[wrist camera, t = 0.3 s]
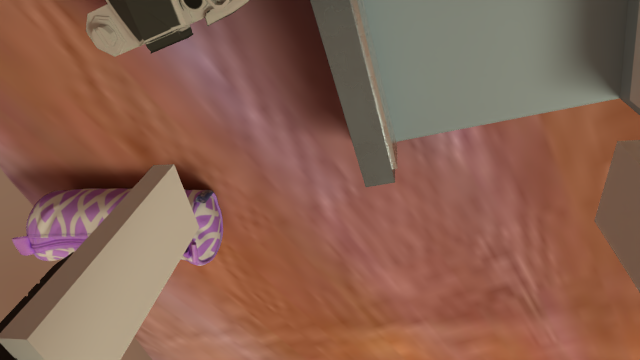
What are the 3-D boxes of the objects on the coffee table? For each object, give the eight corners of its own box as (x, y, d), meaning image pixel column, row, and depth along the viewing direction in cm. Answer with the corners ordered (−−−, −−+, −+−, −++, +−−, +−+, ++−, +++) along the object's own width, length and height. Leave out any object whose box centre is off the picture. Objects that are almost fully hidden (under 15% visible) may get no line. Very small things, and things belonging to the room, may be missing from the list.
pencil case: (221, 172, 47) (187, 225, 39) (239, 232, 52) (212, 290, 44) (57, 175, 51) (-3, 224, 43) (89, 231, 56) (40, 283, 48)
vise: (313, -25, 34) (292, -6, 27) (709, -156, 26) (826, -178, 19) (360, 141, 42) (354, 189, 35) (673, 79, 34) (745, 124, 27)
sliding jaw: (297, -115, 29) (274, -119, 23) (336, -131, 28) (322, -139, 22) (369, 147, 40) (365, 187, 34) (398, 142, 39) (399, 181, 34)
